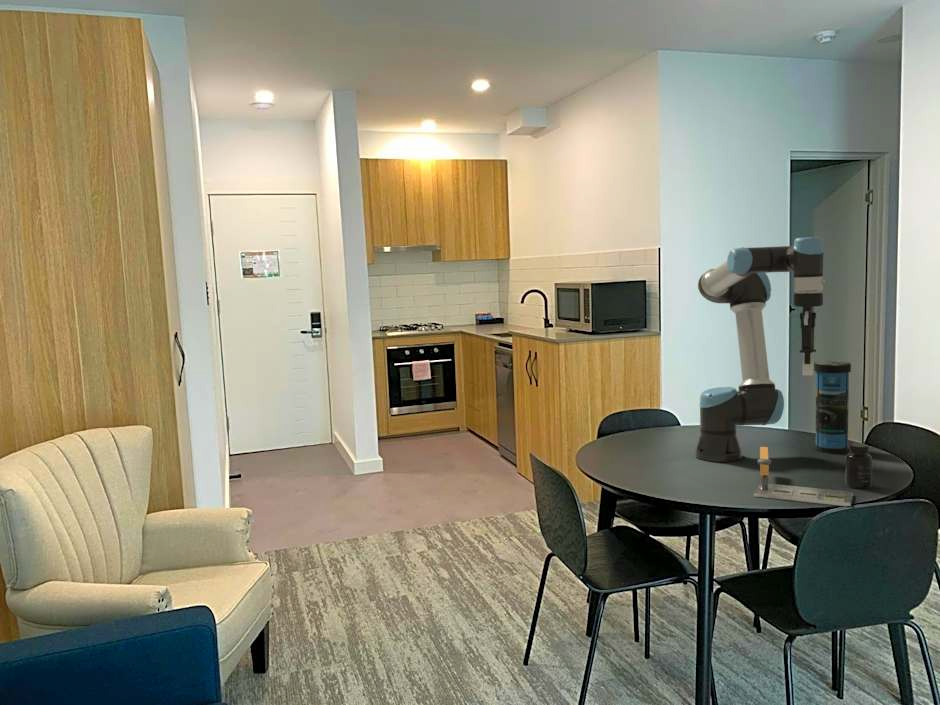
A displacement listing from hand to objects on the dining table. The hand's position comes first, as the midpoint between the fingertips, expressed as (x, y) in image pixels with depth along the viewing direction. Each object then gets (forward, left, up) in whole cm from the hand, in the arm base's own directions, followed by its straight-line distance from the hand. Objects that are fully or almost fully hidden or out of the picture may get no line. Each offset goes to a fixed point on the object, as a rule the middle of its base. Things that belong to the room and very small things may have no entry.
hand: (807, 374), depth 210 cm
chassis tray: (0, -11, -32) cm, 34 cm away
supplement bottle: (+13, +5, -33) cm, 35 cm away
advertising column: (+3, +48, -33) cm, 58 cm away
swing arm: (-11, -2, -27) cm, 29 cm away
